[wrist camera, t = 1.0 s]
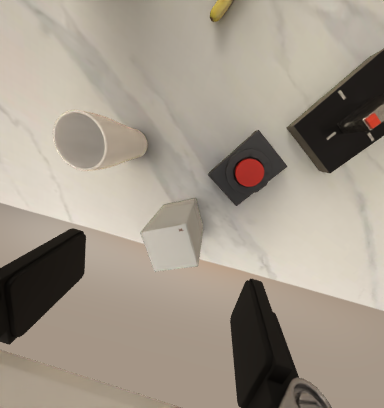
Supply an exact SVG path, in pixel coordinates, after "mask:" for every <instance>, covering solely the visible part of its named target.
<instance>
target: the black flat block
mask: <svg viewBox="0 0 384 408" xmlns="http://www.w3.org/2000/svg"><path fill="white" fill-rule="evenodd" d="M382 94H384V49H382V50H381V51H379V52H377V53H375V54H374V55H372V56H370V57H369V58H368V59H366V60H365V61H364V62H363V63H362V64H361V65H359V66H358V67H357V68H356V69H355V70H354V71H352V72H351V73H350V74H349V75H348V76H346V77H345V78H344V79H343V80H342V81H341V82H339V83H338V84H337V85H336V86H335V87H334V88H332V89H331V90H330V91H329V92H328V93H327V94H325V95H324V96H323V97H322V98H321V99H319V100H318V101H317V102H316V103H315V104H314V105H312V106H311V107H310V108H309V109H308V110H307V111H305V112H304V113H303V114H302V115H301V116H299V117H298V118H297V119H296V120H295V121H294V122H292V123H291V124H290V125H289V126H288V127H287V129H288V130H289V132H290V133H291V134H292V136H293V137H294V138H295V140H296V141H297V142H298V143H299V145H300V146H301V147H302V149H303V150H304V151H305V153H306V154H307V155H308V156H309V158H310V159H311V160H312V162H313V163H314V164H315V166H316V167H317V168H318V170H319V171H321V172H326V173H331V172H333V171H334V170H336V169H337V168H338V167H340V166H341V165H343V164H344V163H345V162H347V161H348V160H350V159H351V158H353V157H354V156H355V155H357V154H358V153H360V152H361V151H362V150H364V149H365V148H367V147H368V146H370V145H371V144H372V143H374V142H375V141H377V140H378V139H379V138H381V137H382V136H384V121H383V122H382V123H380V124H379V125H378V126H376V127H375V128H374V129H372V130H371V131H364V132H354V133H344V134H343V133H342V131H341V130H340V128H339V127H338V126H337V124H338V123H339V122H341V121H342V120H343V119H344V118H346V117H347V116H348V115H349V114H351V113H352V112H353V111H355V110H356V109H357V108H358V107H360V106H361V105H362V104H364V103H365V102H366V101H367V100H369V99H370V98H373V97H376V96H379V95H382Z"/></svg>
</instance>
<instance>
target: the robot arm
mask: <svg viewBox="0 0 384 408" xmlns="http://www.w3.org/2000/svg"><path fill="white" fill-rule="evenodd" d="M85 243H86V236H85V235H84V232H83V231H80V230H77V229H69V230H68V231H66V232H64V233H62V234H60V235H59V236H57V237H55V238H53V239H52V240H50V241H48V242H47V243H44V244H43V245H41V246H39V247H37V248H36V249H34V250H32V251H30V252H28V253H27V254H25V255H23V256H21V257H19V258H18V259H16V260H14V261H12V262H11V263H9V264H7V265H5V266H3V267H2V268H0V342H3V343H6V344H11V343H12V342H13V341H14V340H15V339H16V338H17V337H20V336H22V335H23V334H24V333H26V332H27V330H29V329H30V328H31V327H32V326H33V325H34V324H35V323H36V322H37V321H38V320H39V319H40V318H41V317H42V316H43V315H44V314H45V313H46V312H47V311H48V310H49V309H50V308H51V307H52V306H53V305H54V304H55V303H56V302H57V301H58V300H59V299H60V298H62V297H63V296H64V295H65V294H66V293H67V292H68V291H69V290H70V289H71V288H72V287H73V286H74V285H75V284H76V283H77V282H78V281H79V280H80V279H81V278H82V276H83V274H84V268H85ZM230 323H231V335H232V346H233V357H234V369H235V380H236V391H237V402H238V406H239V407H241V408H332V407H331V405H330V404H329V402H328V401H327V399H326V398H325V396H324V395H323V394H322V393H321V392H320V391H319V390H318V388H317V387H315V386H314V385H313V384H312V383H310V382H309V381H307V380H305V379H302V378H299V376H298V374H297V371H296V368H295V365H294V363H293V360H292V357H291V354H290V352H289V349H288V346H287V343H286V341H285V338H284V335H283V333H282V330H281V327H280V324H279V322H278V319H277V316H276V314H275V313H273V312H272V309H271V306H270V303H269V300H268V297H267V295H266V292H265V289H264V286H263V283H262V282H261V281H258V280H254V279H250V280H249V281H246V282H245V284H244V287H243V289H242V291H241V294H240V296H239V298H238V301H237V303H236V305H235V308H234V310H233V312H232V315H231V321H230ZM0 408H181V407H178V406H175V405H172V404H168V403H165V402H162V401H159V400H156V399H153V398H150V397H147V396H144V395H141V394H138V393H135V392H131V391H128V390H125V389H122V388H119V387H116V386H113V385H110V384H107V383H104V382H101V381H98V380H95V379H91V378H88V377H85V376H82V375H78V374H76V373H72V372H69V371H66V370H63V369H60V368H57V367H54V366H51V365H47V364H44V363H41V362H38V361H35V360H31V359H28V358H25V357H22V356H18V355H16V354H12V353H9V352H6V351H2V350H0Z"/></svg>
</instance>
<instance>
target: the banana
mask: <svg viewBox="0 0 384 408" xmlns="http://www.w3.org/2000/svg"><path fill="white" fill-rule="evenodd" d="M232 1H233V0H218V1H217V2H216V4H215V5H214V7H213V8H212V10H211V13H210V19H211V20H212V21H215V22H216V21H218V20H219V19H220V18H221V17H222V16H223V15H224V14H225V12H226V11H227V9H228V8H229V6H230V5H231V3H232Z"/></svg>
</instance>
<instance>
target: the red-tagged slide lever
mask: <svg viewBox="0 0 384 408" xmlns="http://www.w3.org/2000/svg"><path fill="white" fill-rule="evenodd" d="M383 121H384V94H382V95H379V96H376V97H373V98H370V99H369V100H367V101H366V102H365V103H364V104H362V105H361V106H360V107H358V108H357V109H356V110H355V111H353V112H352V113H351V114H349V115H348V116H347V117H346V118H344V119H343V120H342V121H341V122H339V123H338V124H337V126H338V127H339V128H340V130H341V131H342V133H343V134H344V133H354V132H364V131H371V130H372V129H374V128H375V127H376V126H378V125H379V124H380V123H382V122H383Z"/></svg>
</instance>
